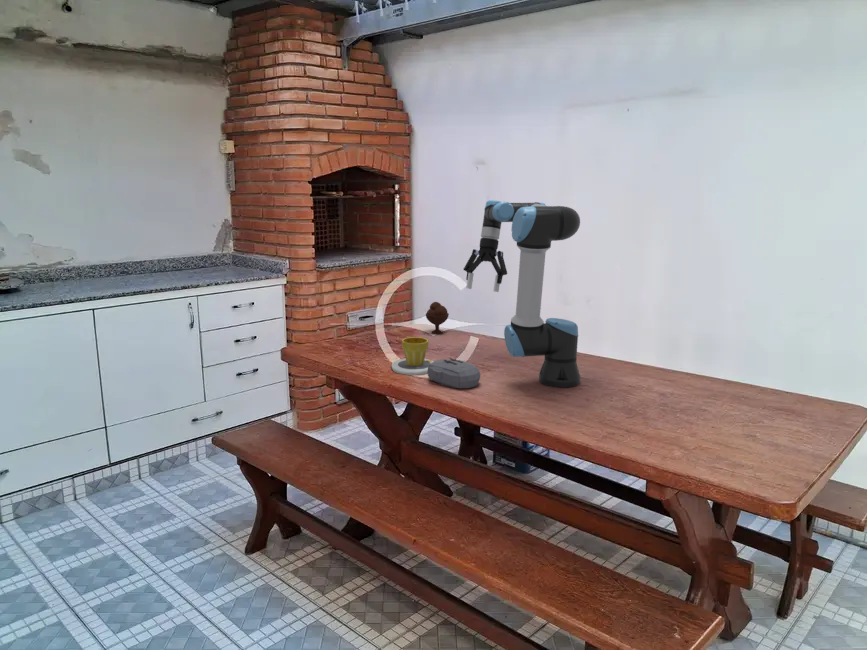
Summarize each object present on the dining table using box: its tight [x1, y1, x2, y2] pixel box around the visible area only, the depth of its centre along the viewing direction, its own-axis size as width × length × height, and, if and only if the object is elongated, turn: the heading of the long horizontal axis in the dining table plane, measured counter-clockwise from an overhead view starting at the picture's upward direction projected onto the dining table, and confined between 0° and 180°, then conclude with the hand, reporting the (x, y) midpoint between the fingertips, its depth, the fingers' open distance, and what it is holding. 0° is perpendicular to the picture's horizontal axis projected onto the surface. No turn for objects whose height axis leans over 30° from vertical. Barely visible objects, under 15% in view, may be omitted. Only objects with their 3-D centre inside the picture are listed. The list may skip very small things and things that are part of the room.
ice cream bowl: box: [425, 301, 450, 335], centre depth 313 cm, size 11×11×15 cm
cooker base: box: [391, 358, 436, 376], centre depth 258 cm, size 18×18×2 cm
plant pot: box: [401, 336, 429, 366], centre depth 257 cm, size 10×10×10 cm
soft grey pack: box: [427, 357, 481, 389], centre depth 241 cm, size 15×8×20 cm
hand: (482, 290), depth 269 cm, fingers open, 13 cm apart
